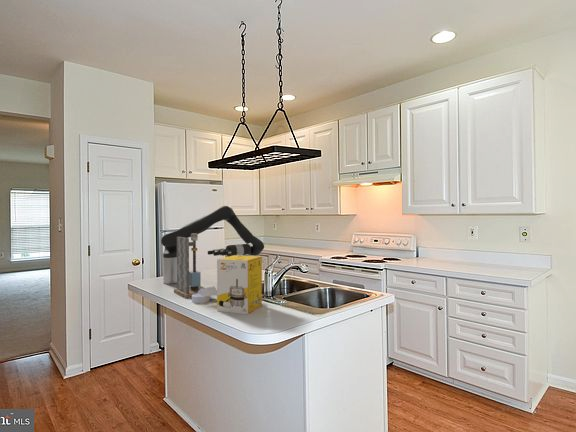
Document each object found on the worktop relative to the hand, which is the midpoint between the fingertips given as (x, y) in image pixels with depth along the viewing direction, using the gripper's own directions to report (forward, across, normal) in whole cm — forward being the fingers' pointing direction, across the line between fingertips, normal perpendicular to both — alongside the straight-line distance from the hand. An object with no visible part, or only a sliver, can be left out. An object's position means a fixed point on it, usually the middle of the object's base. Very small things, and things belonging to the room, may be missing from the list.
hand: (210, 253), depth 214 cm
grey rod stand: (+11, 0, +22) cm, 25 cm away
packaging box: (+5, +44, +23) cm, 50 cm away
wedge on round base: (+13, +19, +23) cm, 32 cm away
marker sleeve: (+11, 0, +18) cm, 21 cm away
